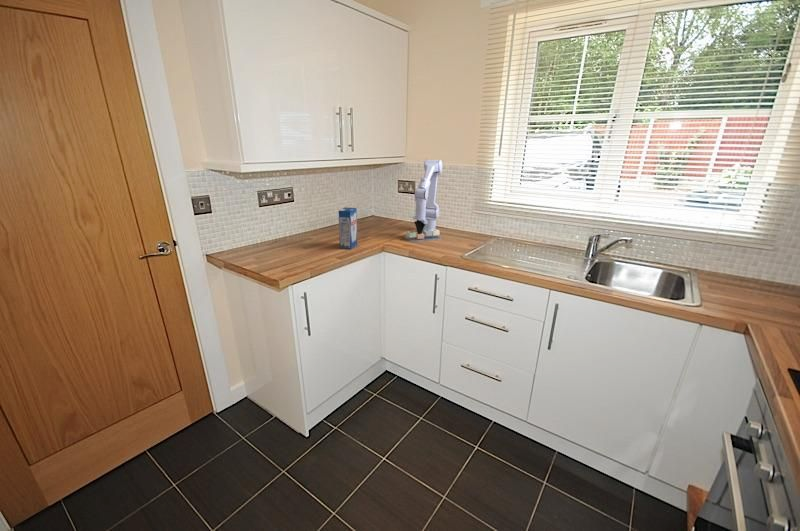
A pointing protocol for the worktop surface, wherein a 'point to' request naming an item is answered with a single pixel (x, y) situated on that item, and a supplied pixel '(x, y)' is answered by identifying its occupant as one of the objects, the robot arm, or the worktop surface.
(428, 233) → the key
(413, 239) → the keypad board
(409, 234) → the key
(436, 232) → the key
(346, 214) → the milk carton
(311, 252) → the worktop surface
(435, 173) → the robot arm
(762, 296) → the worktop surface
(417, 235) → the key
